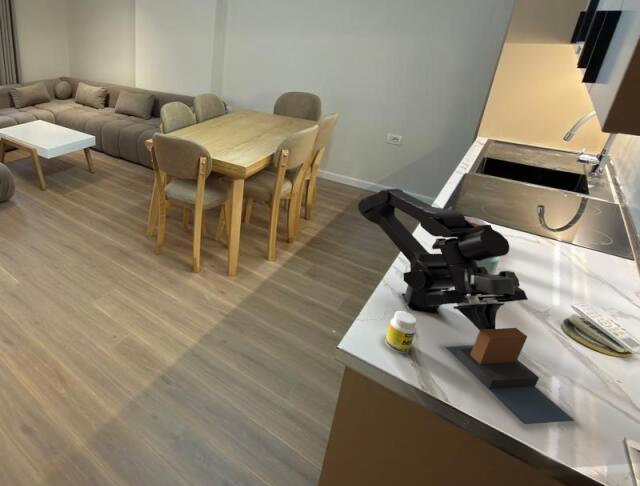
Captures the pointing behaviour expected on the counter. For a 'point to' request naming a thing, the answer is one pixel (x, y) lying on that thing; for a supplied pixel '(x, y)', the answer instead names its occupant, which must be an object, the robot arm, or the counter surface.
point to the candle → (477, 221)
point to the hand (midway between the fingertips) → (491, 339)
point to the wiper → (498, 359)
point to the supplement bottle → (401, 332)
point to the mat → (526, 401)
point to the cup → (489, 264)
